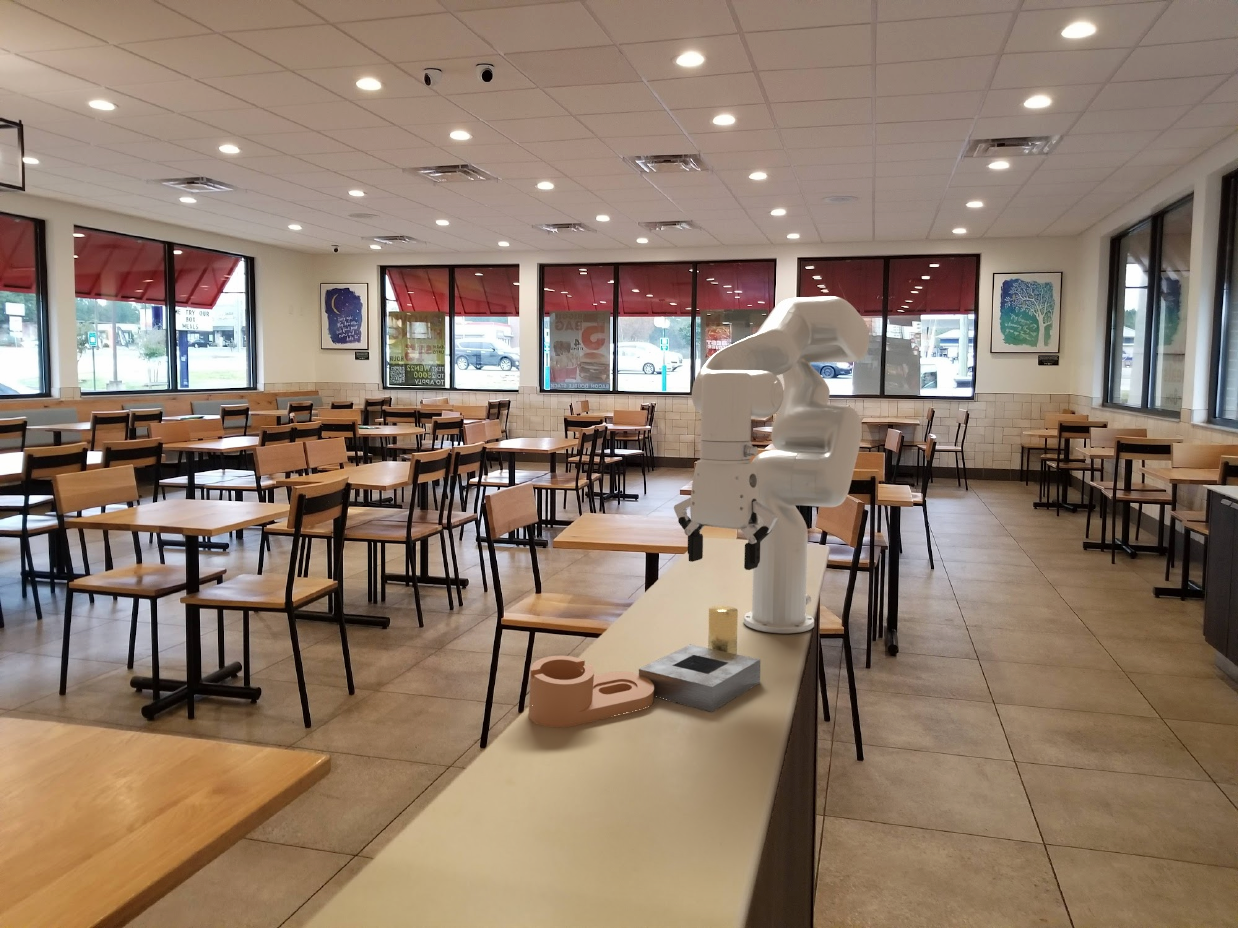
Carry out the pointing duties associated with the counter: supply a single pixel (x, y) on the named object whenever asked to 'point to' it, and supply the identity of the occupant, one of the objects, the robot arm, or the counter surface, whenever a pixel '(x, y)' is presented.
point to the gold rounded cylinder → (723, 629)
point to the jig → (702, 676)
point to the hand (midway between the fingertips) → (722, 564)
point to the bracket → (582, 692)
